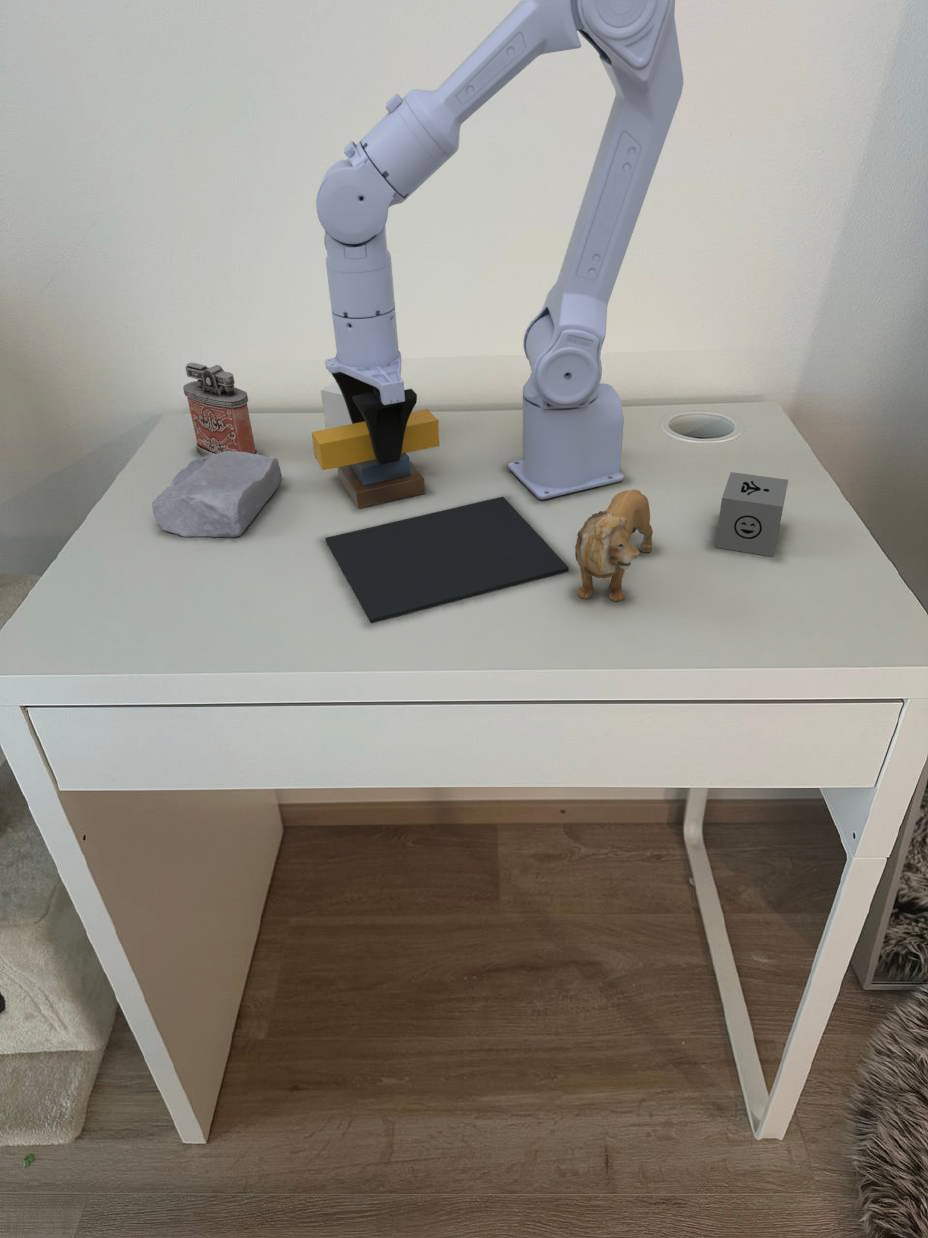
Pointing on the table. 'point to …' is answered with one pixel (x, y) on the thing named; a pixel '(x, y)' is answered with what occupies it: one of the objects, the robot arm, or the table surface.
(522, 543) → the mat
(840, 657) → the table surface
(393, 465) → the brown blue stepped block
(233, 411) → the lighter
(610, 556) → the lion figurine
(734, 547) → the dice cube
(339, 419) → the white cube
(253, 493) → the stone block
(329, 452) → the bar
